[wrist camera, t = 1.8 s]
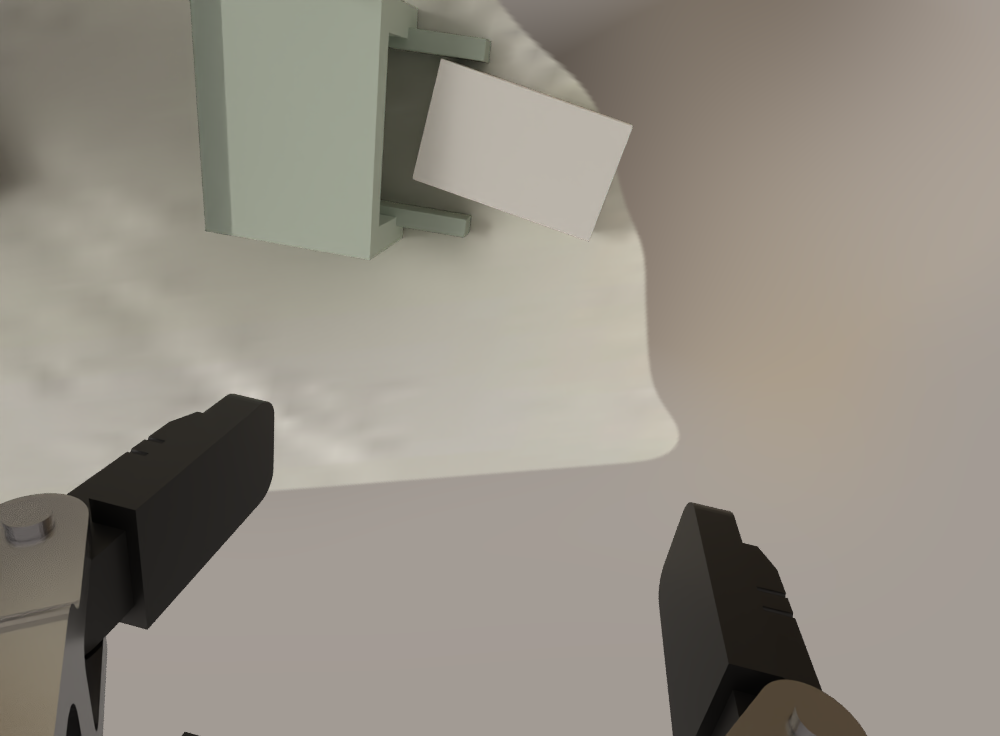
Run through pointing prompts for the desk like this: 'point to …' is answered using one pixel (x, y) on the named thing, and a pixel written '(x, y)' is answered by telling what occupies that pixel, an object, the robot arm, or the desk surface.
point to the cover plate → (519, 149)
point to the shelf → (307, 120)
